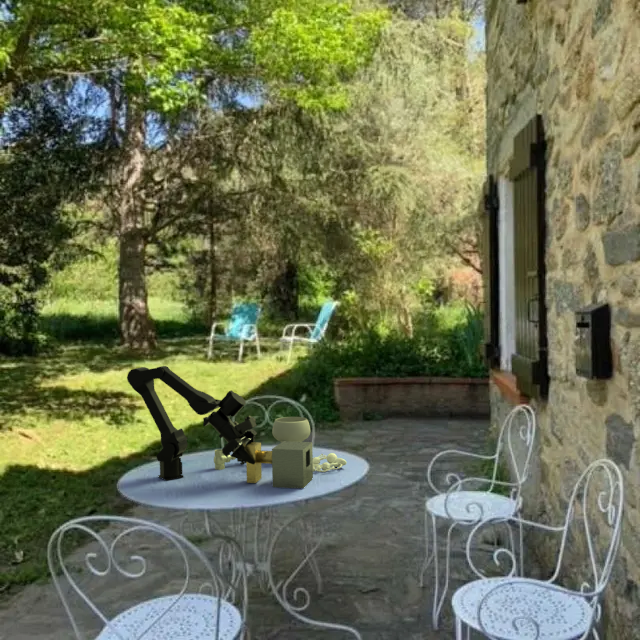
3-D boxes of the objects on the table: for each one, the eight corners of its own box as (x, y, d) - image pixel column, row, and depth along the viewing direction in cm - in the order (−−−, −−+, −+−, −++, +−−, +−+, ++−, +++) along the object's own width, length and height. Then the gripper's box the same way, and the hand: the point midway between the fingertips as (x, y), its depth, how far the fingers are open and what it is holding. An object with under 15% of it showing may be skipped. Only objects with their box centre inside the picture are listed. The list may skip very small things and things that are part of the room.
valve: (219, 471, 233) (248, 465, 241) (219, 452, 233) (248, 447, 240) (209, 468, 238) (238, 462, 246) (209, 449, 238) (237, 444, 245)
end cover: (246, 482, 216) (246, 446, 216) (252, 477, 222) (252, 442, 222) (279, 484, 213) (279, 447, 213) (285, 479, 219) (284, 443, 219)
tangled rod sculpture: (299, 482, 222) (299, 470, 222) (283, 469, 235) (283, 457, 235) (351, 473, 230) (351, 461, 230) (333, 461, 243) (333, 450, 243)
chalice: (307, 464, 240) (306, 422, 240) (269, 464, 242) (268, 422, 242) (313, 456, 254) (313, 416, 254) (277, 455, 256) (276, 416, 256)
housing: (272, 487, 211) (271, 449, 211) (283, 477, 222) (282, 441, 222) (303, 488, 208) (302, 450, 208) (313, 478, 220) (312, 442, 220)
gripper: (230, 413, 210) (265, 450, 208) (250, 405, 228) (282, 438, 226) (207, 438, 212) (241, 474, 210) (229, 427, 230) (260, 461, 228)
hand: (257, 461), depth 218 cm, fingers closed on end cover, 6 cm apart
